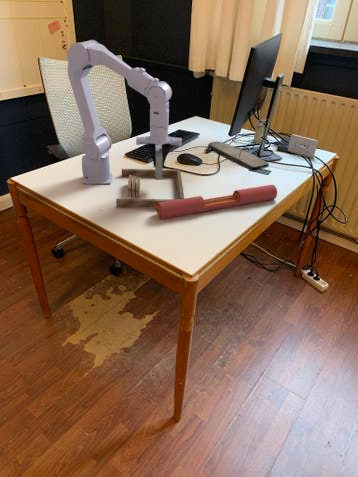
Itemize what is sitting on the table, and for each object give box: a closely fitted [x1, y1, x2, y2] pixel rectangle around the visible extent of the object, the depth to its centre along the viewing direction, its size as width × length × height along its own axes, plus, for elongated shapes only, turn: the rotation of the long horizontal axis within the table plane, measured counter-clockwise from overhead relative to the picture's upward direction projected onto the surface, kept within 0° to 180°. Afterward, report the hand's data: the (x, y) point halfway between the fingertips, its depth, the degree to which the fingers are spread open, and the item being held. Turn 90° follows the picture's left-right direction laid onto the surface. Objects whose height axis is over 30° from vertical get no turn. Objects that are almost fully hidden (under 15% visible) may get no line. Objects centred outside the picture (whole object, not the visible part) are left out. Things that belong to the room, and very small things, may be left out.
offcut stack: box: [126, 175, 141, 198], centre depth 123 cm, size 4×10×4 cm, turn 4°
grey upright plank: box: [154, 145, 163, 181], centre depth 118 cm, size 2×10×8 cm, turn 4°
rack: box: [115, 168, 185, 209], centre depth 123 cm, size 22×24×3 cm
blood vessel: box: [155, 184, 278, 220], centre depth 116 cm, size 42×5×5 cm, turn 112°
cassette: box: [287, 133, 319, 158], centre depth 157 cm, size 12×2×8 cm, turn 53°
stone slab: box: [207, 141, 270, 171], centre depth 154 cm, size 10×3×30 cm
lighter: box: [253, 118, 267, 143], centre depth 168 cm, size 7×4×10 cm, turn 135°
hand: (158, 165), depth 119 cm, fingers closed on grey upright plank, 2 cm apart
